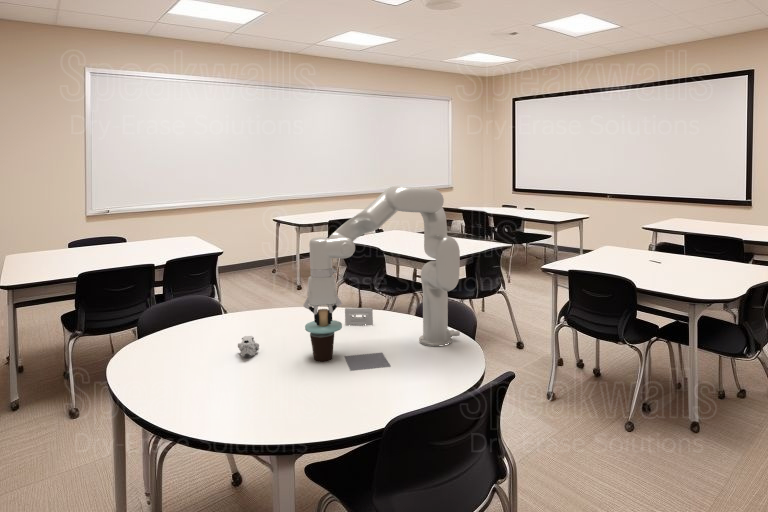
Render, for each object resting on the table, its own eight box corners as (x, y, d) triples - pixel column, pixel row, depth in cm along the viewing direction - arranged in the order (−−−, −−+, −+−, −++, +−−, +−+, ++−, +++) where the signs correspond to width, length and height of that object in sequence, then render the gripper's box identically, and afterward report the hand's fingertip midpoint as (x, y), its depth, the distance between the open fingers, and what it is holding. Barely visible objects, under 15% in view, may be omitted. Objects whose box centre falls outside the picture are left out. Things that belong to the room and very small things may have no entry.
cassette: (345, 326, 226) (344, 308, 225) (345, 324, 228) (345, 307, 227) (372, 326, 226) (372, 308, 224) (373, 324, 228) (372, 307, 226)
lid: (339, 321, 194) (338, 304, 193) (344, 331, 181) (343, 313, 180) (303, 324, 191) (303, 306, 190) (306, 335, 179) (305, 316, 178)
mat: (382, 354, 192) (382, 352, 192) (391, 368, 178) (391, 366, 178) (344, 357, 189) (344, 356, 189) (350, 372, 175) (350, 370, 175)
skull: (261, 341, 200) (258, 327, 190) (258, 363, 195) (256, 350, 185) (240, 341, 199) (236, 327, 189) (237, 363, 194) (233, 350, 184)
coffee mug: (331, 365, 182) (330, 337, 180) (307, 363, 184) (306, 336, 182) (340, 353, 193) (339, 327, 191) (318, 352, 195) (317, 326, 193)
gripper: (343, 269, 188) (345, 318, 191) (296, 272, 185) (299, 322, 188) (346, 273, 181) (348, 324, 184) (298, 276, 178) (300, 328, 181)
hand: (323, 323), depth 186 cm, fingers closed on lid, 3 cm apart
